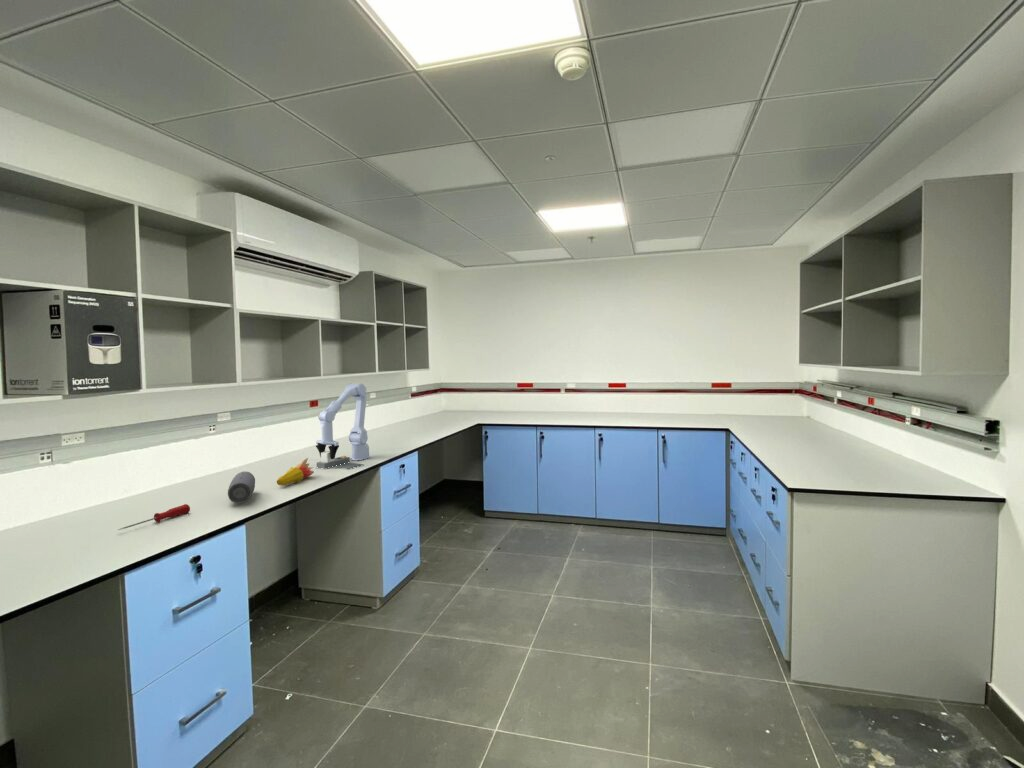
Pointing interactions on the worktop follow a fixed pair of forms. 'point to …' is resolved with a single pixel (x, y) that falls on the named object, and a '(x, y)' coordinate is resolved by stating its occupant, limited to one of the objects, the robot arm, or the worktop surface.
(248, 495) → the bluetooth speaker
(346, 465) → the mat
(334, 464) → the power strip
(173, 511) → the screwdriver
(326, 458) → the block
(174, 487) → the worktop surface
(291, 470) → the torch
